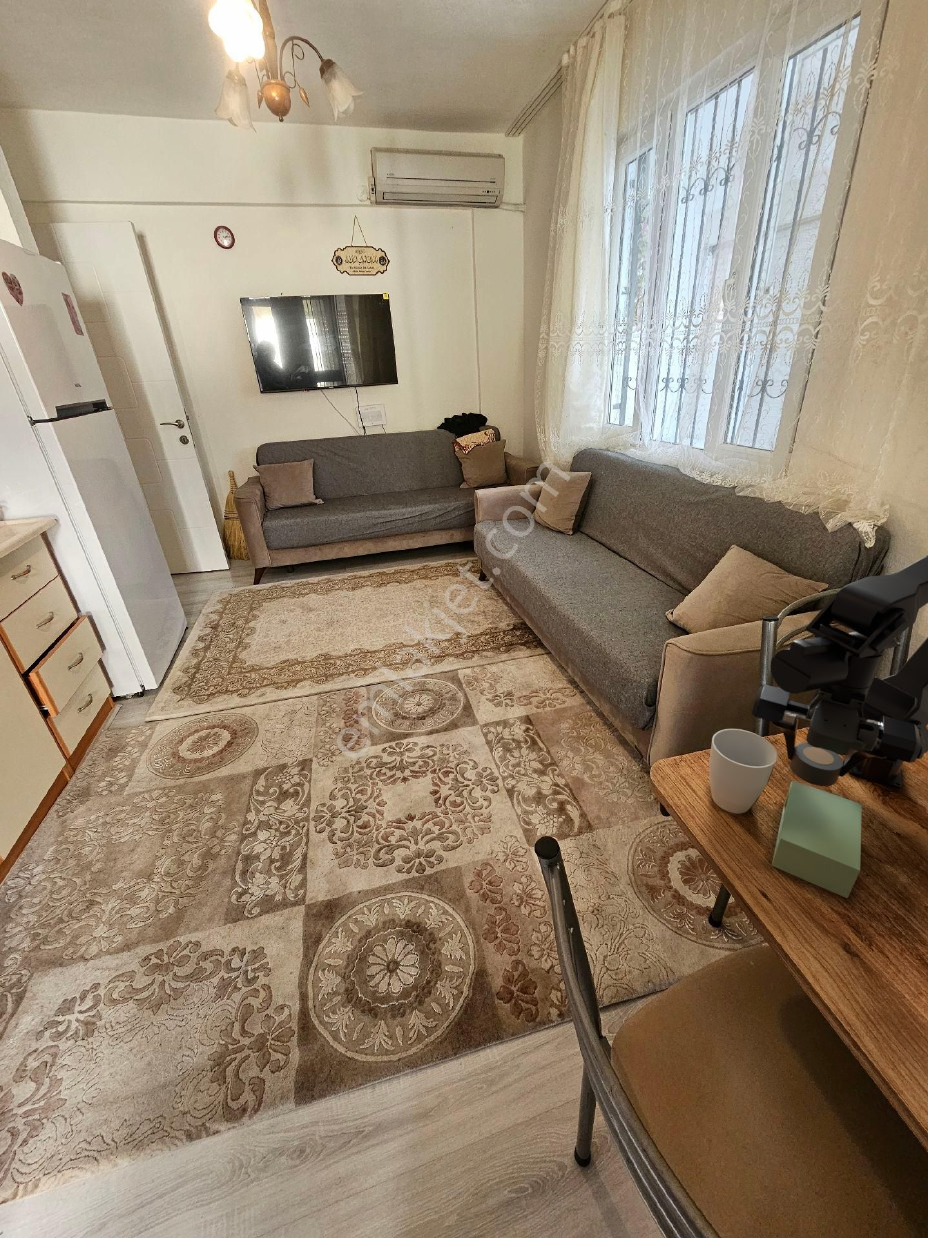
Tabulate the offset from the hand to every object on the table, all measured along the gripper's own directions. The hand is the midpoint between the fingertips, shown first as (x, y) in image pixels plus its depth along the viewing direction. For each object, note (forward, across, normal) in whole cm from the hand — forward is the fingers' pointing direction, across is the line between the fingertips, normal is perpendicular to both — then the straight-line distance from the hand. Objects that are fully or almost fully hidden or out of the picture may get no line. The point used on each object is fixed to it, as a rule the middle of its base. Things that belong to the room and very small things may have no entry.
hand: (814, 766), depth 74 cm
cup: (+4, -9, -9) cm, 13 cm away
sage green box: (+4, +2, -12) cm, 13 cm away
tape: (+1, 0, 0) cm, 1 cm away
